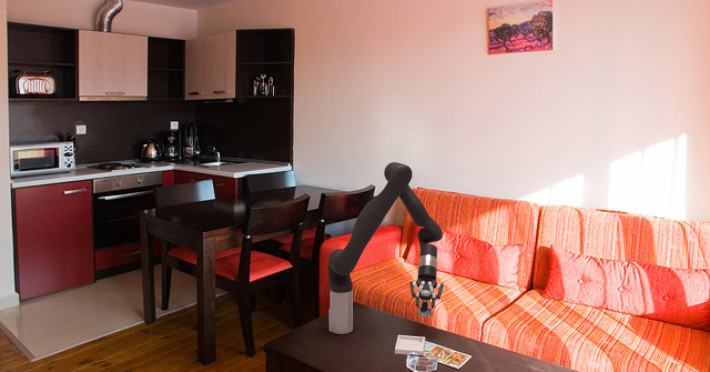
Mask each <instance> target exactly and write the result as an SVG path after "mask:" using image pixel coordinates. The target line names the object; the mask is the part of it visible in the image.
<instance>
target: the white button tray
mask: <svg viewBox="0 0 710 372" xmlns="http://www.w3.org/2000/svg"><path fill="white" fill-rule="evenodd" d="M425 344H426V336H416V335H415V336H414V335H404V334H403V335H402V334H398V335H397V338H396V343H395V347H394V354H395V355H407V356H409V355H408V354H409V353H412V352H415V353H417V354H419V355H423V356H424V353H425Z"/></svg>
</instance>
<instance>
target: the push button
mask: <svg viewBox="0 0 710 372" xmlns="http://www.w3.org/2000/svg"><path fill="white" fill-rule="evenodd" d="M432 296H433V294H432V293H430V291H428V290H422V291H421V292H420V293H419V300H420V303H419V308H418V311H417V313H418V314H417V315H418V316H421V317H423V318H424V317H427V318H430V317H431V316H432V317H435V313H436V312H433V311H432V309H431V307H430V306H431V305H430V304H431V300H432Z"/></svg>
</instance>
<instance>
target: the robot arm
mask: <svg viewBox="0 0 710 372" xmlns="http://www.w3.org/2000/svg"><path fill="white" fill-rule="evenodd" d="M383 175H384V178H385V180H386V181H387V183H386V185H385V186H384V188H383V189H382V190H381V192H379V193H378V194H377V195H376V196H375V197H373V198H372V199H371V200H370V201H368V202H367V203H366V205H365V206H363V209H362V210H361V212H360V213H359V215H358V216H357V218H356V220H355V223H354V227H353V230H352V233H351V237H350V238H349V240H348V242H347V244H346V245H345V247H344V248H336V249H333V250H332V251H331V252H330V253H329V256H328V258H327V277H328V278H327V280H328V284H329V308H328V332H329V333H330V332H331V333H334V334H336V335H337V334H338V335H345V334H349V333H351V332H352V331H353V330H354V329H353V328H354V327H353V326H354V325H353V324H354V322H353V321H354V319H353V318H354V314H353V313H354V309H353V308H354V306H353V305H354V301H353V300H354V299H353V297H354V296H353V295H354V294H353V293H354V288H353V287H354V284H353V280H352V278H351V273H352V272H353V271H354V270H355V267H356V266H357V264H358V262H359V261H360V258H361V256H362V254H363V252H364V250H365V249H366V248H367V245H368V244H369V242H370V241H371V239H372V238H373V237H374V235H375V233H376V232H377V230H378V229H379V228H380V226H381V224H382V223H383V221H384V220H385V218H386V216H387V215H388V213H389V212H390V210H391V209H392V207H393V206H394V204H395V203H396V201H397V200H398V199H400V200H401V201H402V203H403V205H404V207H405V208H406V210H407V212H408V214H409V216H410V218H411V219H412V222H413V224H415V226H416V227H418V228H419V227H420V228H419V229H418V231H417V240H418V243H419V245H418V246H419V252H420V253H419V260H418V268H417V270H418V271H417V280H416V281H412V280H411V281H409V289H410V293H411V297H412V298H414V299H415V306H416V307H417V308H418V309H419V307H420V298H419V293H420V292H421V291H422V290H428V291H430V293H432V294H433V296H432V299H431V300H430V304H431V305H430V306H431V307H430V309H431V310H433V309H434V308H435V306H436V300H440V299H441V297H442V293H443V290H444V283H438V282H437V273H438V272H437V271H438V260H437V259H438V248H437V247H436V246H437V245H435V244H431V243H437V242H439V241H441V240H442V238H443V230H442V227H440V226H441V225H439V224H438V223H437V222H436V221H435V220H434V218H432V217H431V216H430V214H429V211H427V208H426V207H425V205H424V203H423V202H422V200H421V199H420V198H419V197H418V195H417V194H416V193H415V192H414V190H413V189H412V187H411V186H410V185H409V184H410V183H411V181H412V177H413V170H412V168H411V167H410V166H409V165H407V164H404V163H401V162H396V161H393V162H392V161H391V162H389V163H388V164H387V165H386V166H385V168H384V171H383ZM416 286H417V287H418V289H417V292H415V288H416ZM436 288H437V289H438V292H437V294H435V289H436Z"/></svg>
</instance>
